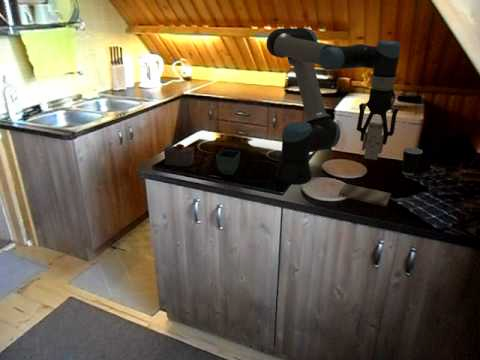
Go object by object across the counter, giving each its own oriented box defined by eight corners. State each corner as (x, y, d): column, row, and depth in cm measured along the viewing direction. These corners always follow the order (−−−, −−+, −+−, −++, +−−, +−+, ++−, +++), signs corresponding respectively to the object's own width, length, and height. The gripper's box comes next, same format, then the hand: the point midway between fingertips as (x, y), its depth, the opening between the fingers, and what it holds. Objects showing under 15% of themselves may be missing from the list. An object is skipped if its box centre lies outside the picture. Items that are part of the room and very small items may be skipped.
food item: (196, 162, 182) (195, 142, 178) (192, 168, 175) (191, 148, 171) (168, 160, 184) (167, 141, 179) (163, 167, 176) (161, 146, 172)
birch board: (338, 195, 151) (338, 192, 151) (345, 186, 159) (345, 183, 159) (386, 206, 143) (386, 203, 143) (390, 196, 151) (391, 193, 151)
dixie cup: (395, 172, 173) (399, 149, 168) (404, 168, 177) (409, 146, 173) (411, 178, 167) (416, 154, 163) (421, 173, 172) (426, 150, 167)
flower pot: (215, 175, 168) (215, 156, 164) (222, 168, 176) (221, 149, 172) (235, 177, 166) (235, 158, 162) (240, 170, 174) (240, 151, 170)
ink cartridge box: (364, 151, 149) (370, 113, 143) (377, 152, 147) (384, 115, 141) (363, 158, 141) (369, 119, 135) (377, 160, 140) (384, 120, 134)
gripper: (352, 87, 135) (344, 149, 144) (408, 93, 127) (396, 158, 136) (357, 84, 141) (349, 144, 151) (411, 89, 133) (399, 152, 142)
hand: (371, 150), depth 143 cm, fingers closed on ink cartridge box, 5 cm apart
